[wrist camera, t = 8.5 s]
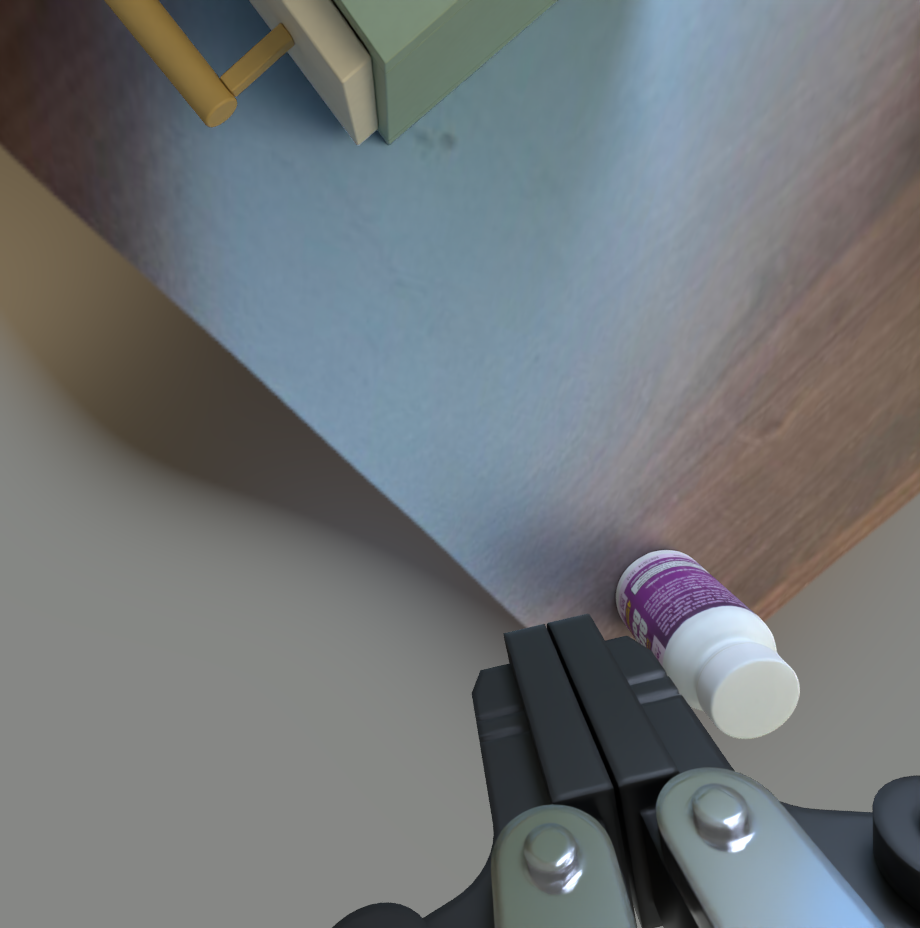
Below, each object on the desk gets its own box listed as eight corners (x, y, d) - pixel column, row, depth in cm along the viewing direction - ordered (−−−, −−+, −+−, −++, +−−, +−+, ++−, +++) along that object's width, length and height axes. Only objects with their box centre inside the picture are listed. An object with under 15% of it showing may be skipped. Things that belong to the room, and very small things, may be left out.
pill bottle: (593, 592, 33) (668, 704, 24) (665, 528, 33) (770, 619, 24) (650, 648, 35) (742, 775, 26) (720, 589, 34) (840, 696, 25)
